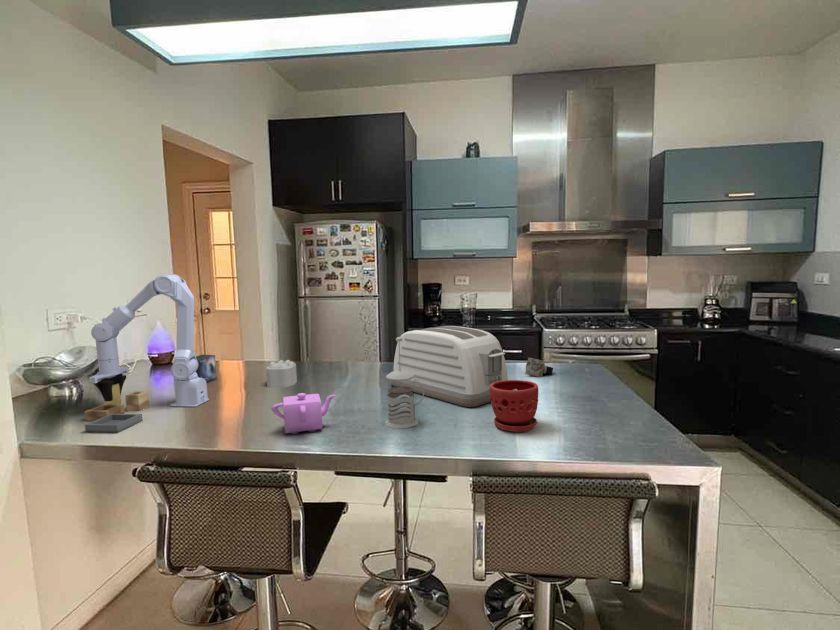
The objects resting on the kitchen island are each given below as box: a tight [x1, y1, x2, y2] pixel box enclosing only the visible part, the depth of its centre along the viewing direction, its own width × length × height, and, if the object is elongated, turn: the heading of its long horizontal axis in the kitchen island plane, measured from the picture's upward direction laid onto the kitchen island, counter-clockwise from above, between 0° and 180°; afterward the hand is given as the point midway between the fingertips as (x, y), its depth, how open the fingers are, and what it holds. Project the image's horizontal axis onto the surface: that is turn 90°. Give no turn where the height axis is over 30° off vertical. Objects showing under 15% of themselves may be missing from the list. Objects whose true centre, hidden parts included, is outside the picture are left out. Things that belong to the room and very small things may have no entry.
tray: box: [84, 413, 144, 434], centre depth 137 cm, size 10×10×2 cm
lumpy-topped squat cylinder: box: [265, 359, 298, 388], centre depth 183 cm, size 10×13×9 cm
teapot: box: [270, 392, 337, 435], centre depth 130 cm, size 18×14×10 cm
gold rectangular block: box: [103, 383, 122, 404], centre depth 154 cm, size 3×3×7 cm
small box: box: [196, 354, 218, 384], centre depth 187 cm, size 11×6×10 cm, turn 168°
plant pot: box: [490, 379, 539, 433], centre depth 128 cm, size 13×13×12 cm
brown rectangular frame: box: [84, 403, 125, 422], centre depth 146 cm, size 7×7×3 cm
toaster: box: [389, 325, 509, 408], centre depth 165 cm, size 23×45×22 cm, turn 42°
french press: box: [384, 336, 425, 429], centre depth 133 cm, size 10×12×25 cm
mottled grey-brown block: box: [524, 357, 554, 378], centre depth 187 cm, size 7×11×10 cm
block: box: [124, 390, 150, 412], centre depth 153 cm, size 4×4×6 cm
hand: (112, 399), depth 154 cm, fingers closed on gold rectangular block, 3 cm apart
